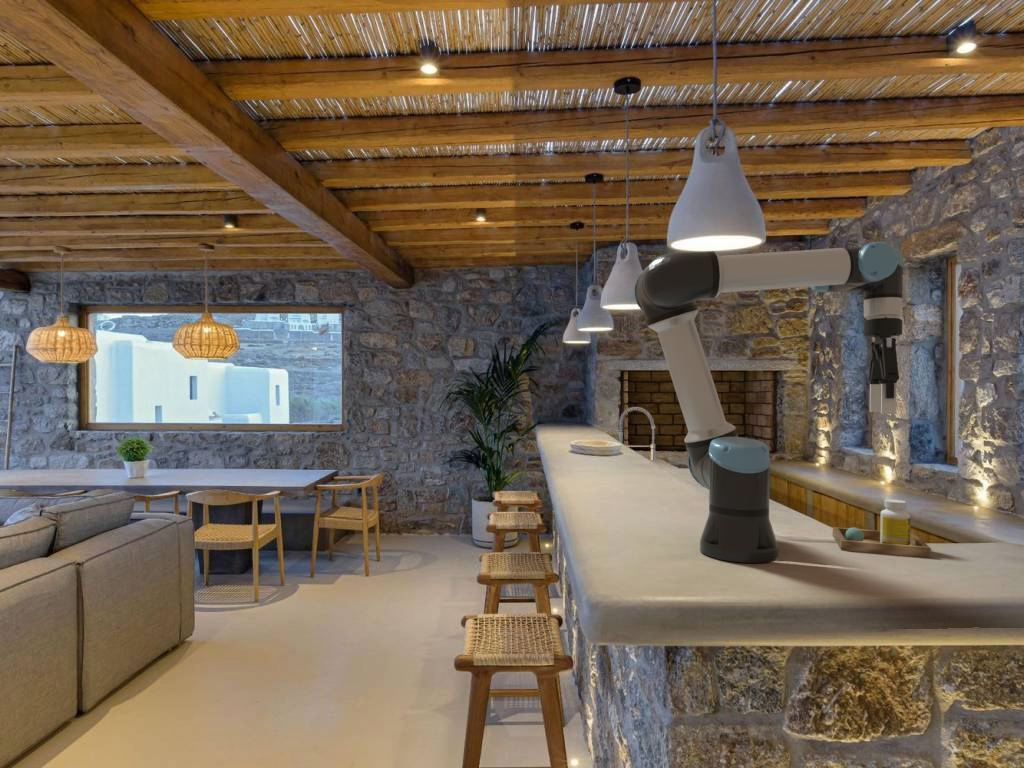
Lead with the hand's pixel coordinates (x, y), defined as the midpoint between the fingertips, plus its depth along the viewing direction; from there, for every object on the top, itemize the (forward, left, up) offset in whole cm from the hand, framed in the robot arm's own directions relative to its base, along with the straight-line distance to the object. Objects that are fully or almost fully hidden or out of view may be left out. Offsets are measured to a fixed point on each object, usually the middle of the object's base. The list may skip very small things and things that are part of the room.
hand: (882, 413), depth 143 cm
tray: (-2, -8, -29) cm, 30 cm away
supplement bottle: (+1, -8, -28) cm, 29 cm away
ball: (-7, -8, -28) cm, 30 cm away
